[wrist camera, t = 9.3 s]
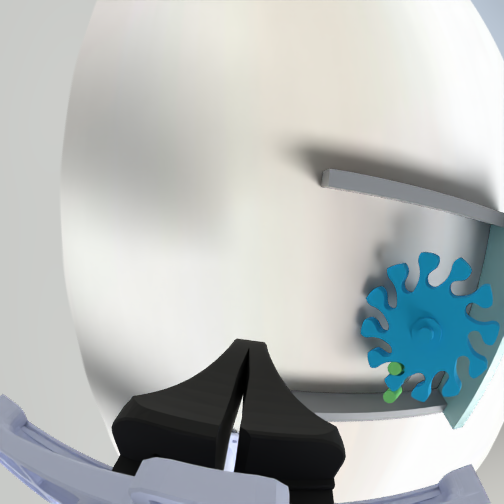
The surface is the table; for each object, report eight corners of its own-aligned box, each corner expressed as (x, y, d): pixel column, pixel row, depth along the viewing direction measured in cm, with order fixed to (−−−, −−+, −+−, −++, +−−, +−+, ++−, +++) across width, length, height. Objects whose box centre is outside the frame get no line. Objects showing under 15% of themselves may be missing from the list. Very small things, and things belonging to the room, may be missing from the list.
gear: (395, 224, 15) (528, 305, 9) (419, 227, 19) (519, 288, 12) (328, 360, 19) (424, 439, 13) (364, 339, 23) (444, 400, 16)
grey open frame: (442, 395, 20) (462, 427, 15) (282, 398, 21) (282, 443, 16) (500, 215, 16) (540, 224, 11) (322, 171, 17) (340, 164, 12)
